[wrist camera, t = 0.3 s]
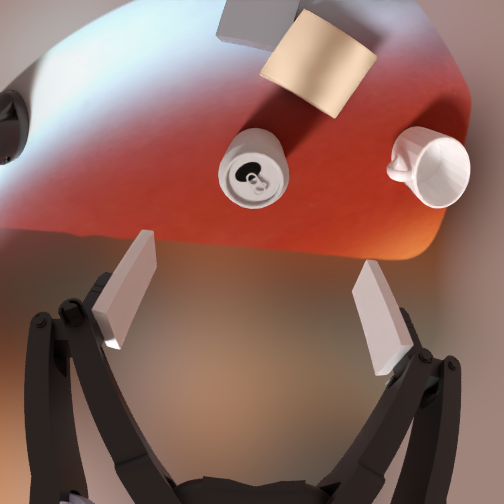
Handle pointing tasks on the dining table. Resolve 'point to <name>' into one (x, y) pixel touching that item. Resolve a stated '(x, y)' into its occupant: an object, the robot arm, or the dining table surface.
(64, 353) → the robot arm
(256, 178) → the can
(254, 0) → the slate block
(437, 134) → the mug
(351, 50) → the birch block
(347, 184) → the dining table surface
